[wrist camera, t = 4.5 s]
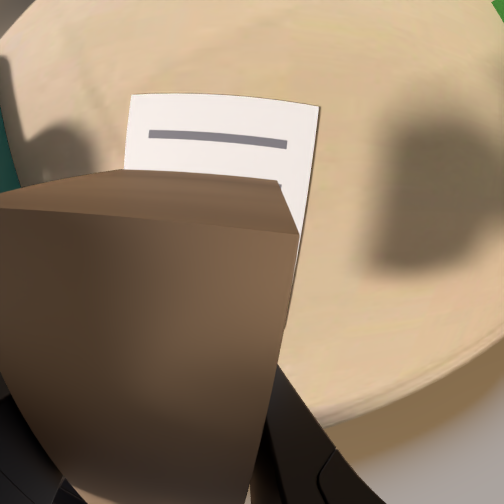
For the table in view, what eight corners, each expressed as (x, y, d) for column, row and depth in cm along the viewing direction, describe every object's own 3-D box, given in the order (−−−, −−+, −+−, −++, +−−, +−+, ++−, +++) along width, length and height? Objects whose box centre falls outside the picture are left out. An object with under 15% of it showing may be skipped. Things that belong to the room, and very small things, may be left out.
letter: (283, 329, 19) (283, 330, 19) (126, 304, 19) (125, 305, 19) (318, 106, 15) (319, 106, 15) (132, 95, 15) (131, 94, 15)
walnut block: (243, 432, 10) (231, 548, 5) (142, 414, 10) (100, 516, 5) (276, 180, 7) (300, 234, 2) (120, 169, 7) (-43, 205, 2)
